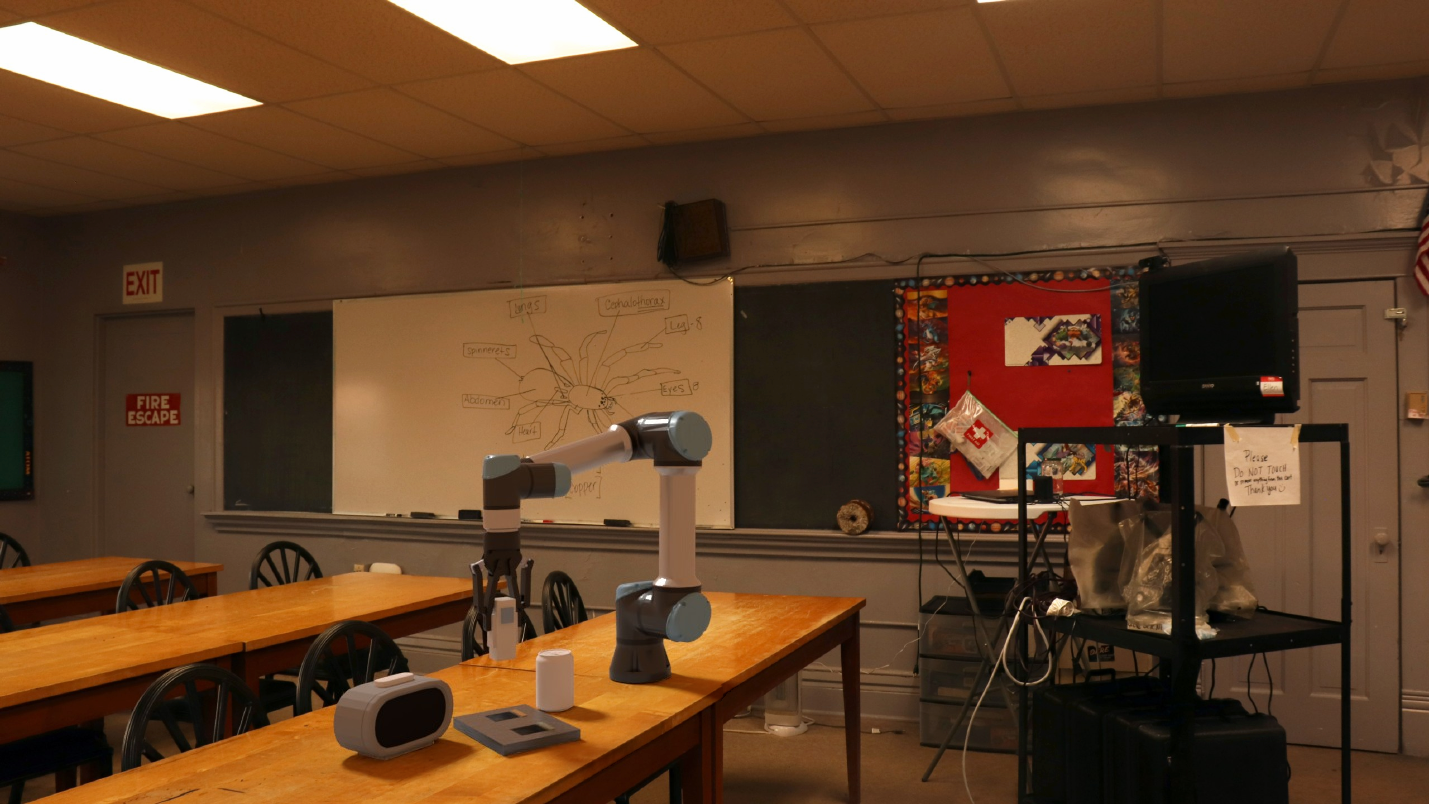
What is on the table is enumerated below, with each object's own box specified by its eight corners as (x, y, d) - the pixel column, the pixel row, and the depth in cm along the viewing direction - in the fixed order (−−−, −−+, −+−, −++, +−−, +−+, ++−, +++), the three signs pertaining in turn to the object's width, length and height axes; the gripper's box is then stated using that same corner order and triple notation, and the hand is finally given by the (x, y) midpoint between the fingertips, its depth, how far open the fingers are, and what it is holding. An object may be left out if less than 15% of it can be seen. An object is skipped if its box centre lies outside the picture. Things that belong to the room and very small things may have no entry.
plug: (507, 655, 204) (507, 596, 204) (517, 659, 200) (517, 599, 200) (489, 658, 201) (489, 598, 202) (499, 662, 197) (498, 601, 198)
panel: (525, 713, 210) (525, 703, 210) (580, 739, 191) (580, 728, 191) (453, 727, 200) (453, 716, 200) (503, 756, 181) (503, 744, 181)
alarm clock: (367, 768, 175) (368, 692, 176) (333, 760, 180) (333, 685, 181) (455, 738, 193) (455, 669, 193) (421, 731, 198) (421, 664, 198)
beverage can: (566, 713, 209) (566, 656, 210) (530, 712, 211) (530, 655, 211) (579, 704, 217) (578, 648, 218) (544, 702, 219) (544, 647, 219)
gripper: (531, 526, 210) (532, 637, 209) (454, 531, 200) (455, 648, 199) (548, 528, 204) (548, 642, 203) (469, 533, 194) (470, 654, 193)
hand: (502, 645), depth 201 cm, fingers closed on plug, 4 cm apart
